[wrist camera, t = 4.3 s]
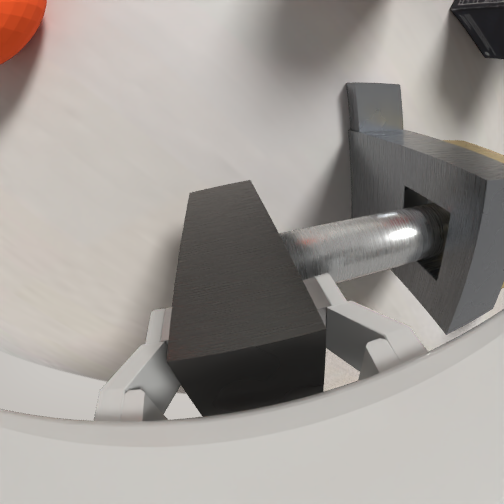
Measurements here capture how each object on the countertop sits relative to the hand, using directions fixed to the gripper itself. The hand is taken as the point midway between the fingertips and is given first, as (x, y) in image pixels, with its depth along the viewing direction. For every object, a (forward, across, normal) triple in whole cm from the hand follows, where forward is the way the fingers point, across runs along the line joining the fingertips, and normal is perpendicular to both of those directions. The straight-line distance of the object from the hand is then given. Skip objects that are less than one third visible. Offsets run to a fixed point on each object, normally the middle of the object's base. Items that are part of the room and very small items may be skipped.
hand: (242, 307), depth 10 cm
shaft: (+6, -8, 0) cm, 10 cm away
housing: (+10, -11, 0) cm, 15 cm away
